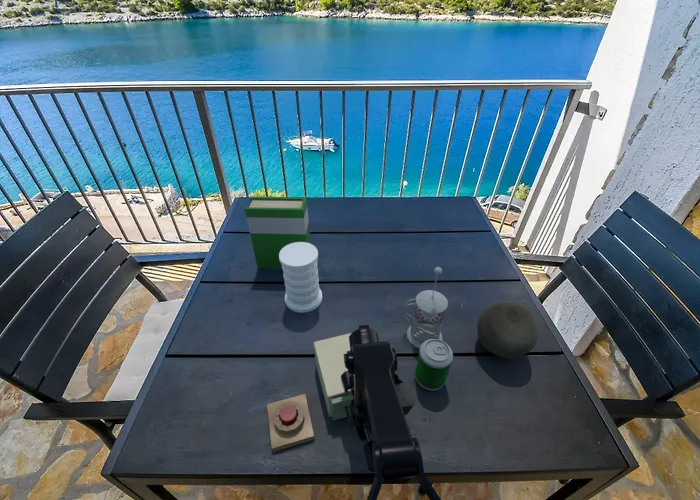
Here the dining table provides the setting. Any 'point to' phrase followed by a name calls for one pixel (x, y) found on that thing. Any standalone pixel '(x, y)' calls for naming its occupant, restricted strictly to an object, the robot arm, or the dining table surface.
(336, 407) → the drawer
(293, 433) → the control block
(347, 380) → the robot arm
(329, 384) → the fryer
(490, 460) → the dining table surface
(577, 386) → the dining table surface
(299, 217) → the hardback book
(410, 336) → the french press
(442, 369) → the soda can
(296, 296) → the decorative container
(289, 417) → the red button
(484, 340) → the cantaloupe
